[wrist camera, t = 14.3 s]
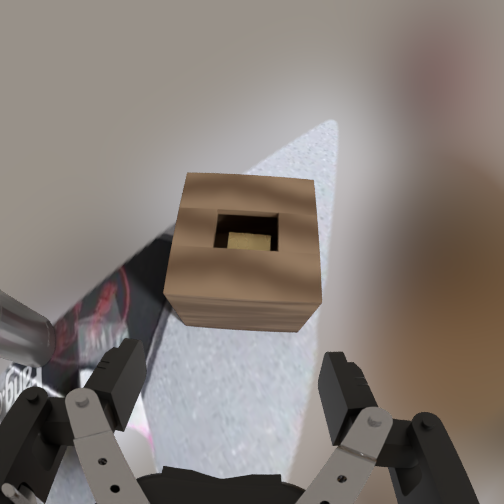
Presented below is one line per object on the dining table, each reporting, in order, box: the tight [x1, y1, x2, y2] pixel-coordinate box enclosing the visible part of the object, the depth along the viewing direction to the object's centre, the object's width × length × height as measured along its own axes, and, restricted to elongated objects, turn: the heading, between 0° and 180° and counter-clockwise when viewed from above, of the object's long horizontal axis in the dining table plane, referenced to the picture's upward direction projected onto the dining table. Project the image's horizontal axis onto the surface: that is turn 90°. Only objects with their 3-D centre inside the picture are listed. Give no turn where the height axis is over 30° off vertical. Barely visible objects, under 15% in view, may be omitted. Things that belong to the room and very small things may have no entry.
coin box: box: [163, 173, 322, 332], centre depth 39 cm, size 16×16×14 cm
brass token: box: [227, 232, 271, 251], centre depth 40 cm, size 3×5×10 cm, turn 86°
